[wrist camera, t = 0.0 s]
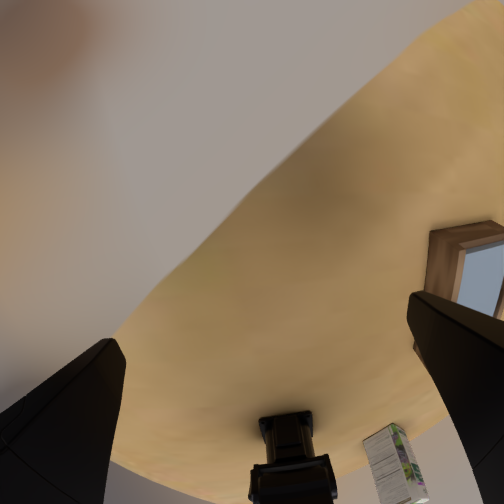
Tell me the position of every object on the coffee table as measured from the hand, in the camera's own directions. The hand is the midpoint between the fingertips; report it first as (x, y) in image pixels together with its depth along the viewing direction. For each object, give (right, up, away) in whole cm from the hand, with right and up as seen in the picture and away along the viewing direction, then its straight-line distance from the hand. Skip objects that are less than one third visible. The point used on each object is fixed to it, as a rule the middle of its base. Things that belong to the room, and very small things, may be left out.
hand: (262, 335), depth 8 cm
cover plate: (+21, -3, +14) cm, 25 cm away
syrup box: (+21, -27, +28) cm, 44 cm away
